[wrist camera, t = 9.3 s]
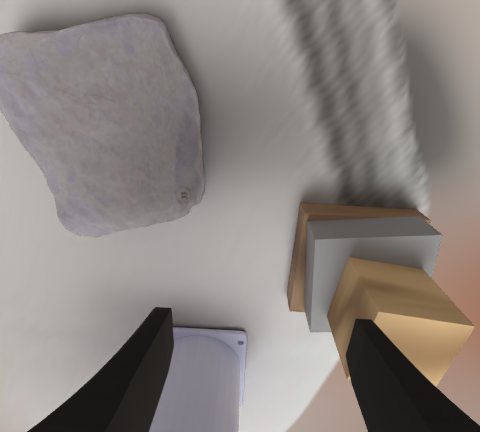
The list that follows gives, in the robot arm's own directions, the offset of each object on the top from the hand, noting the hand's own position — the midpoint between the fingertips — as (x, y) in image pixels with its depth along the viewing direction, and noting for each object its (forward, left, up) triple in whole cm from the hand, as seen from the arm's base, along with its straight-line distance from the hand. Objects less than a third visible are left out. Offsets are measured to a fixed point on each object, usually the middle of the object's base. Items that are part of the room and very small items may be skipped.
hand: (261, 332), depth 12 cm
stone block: (+6, +8, -11) cm, 15 cm away
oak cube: (-3, -7, -6) cm, 10 cm away
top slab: (-2, -7, -9) cm, 11 cm away
